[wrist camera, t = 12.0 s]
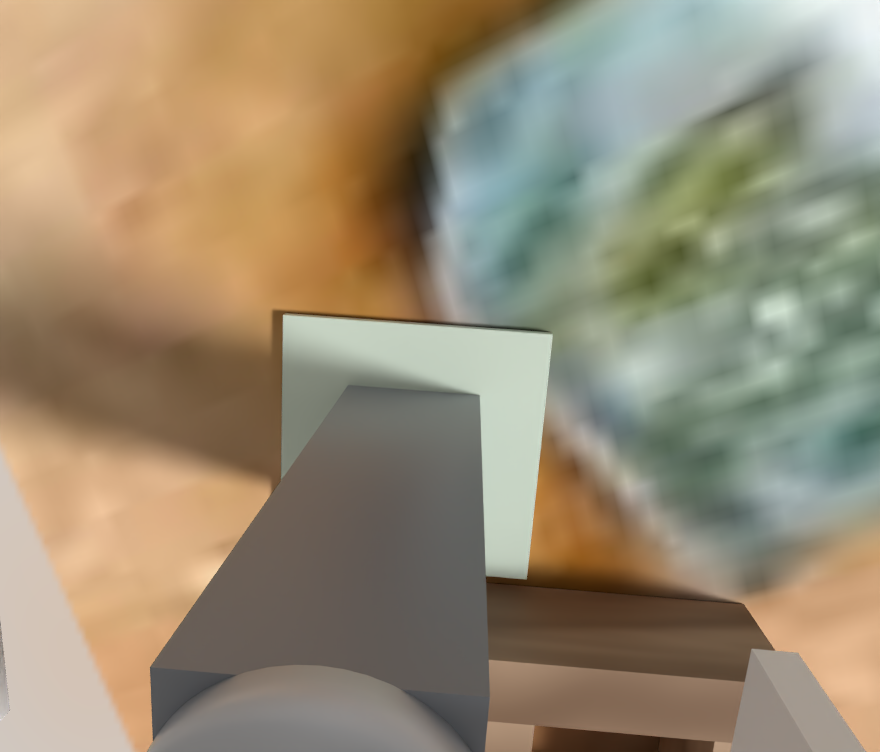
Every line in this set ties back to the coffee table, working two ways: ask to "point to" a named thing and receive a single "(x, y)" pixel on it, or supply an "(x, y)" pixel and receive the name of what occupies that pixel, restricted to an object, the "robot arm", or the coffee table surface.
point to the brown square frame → (616, 666)
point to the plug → (347, 597)
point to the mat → (439, 370)
